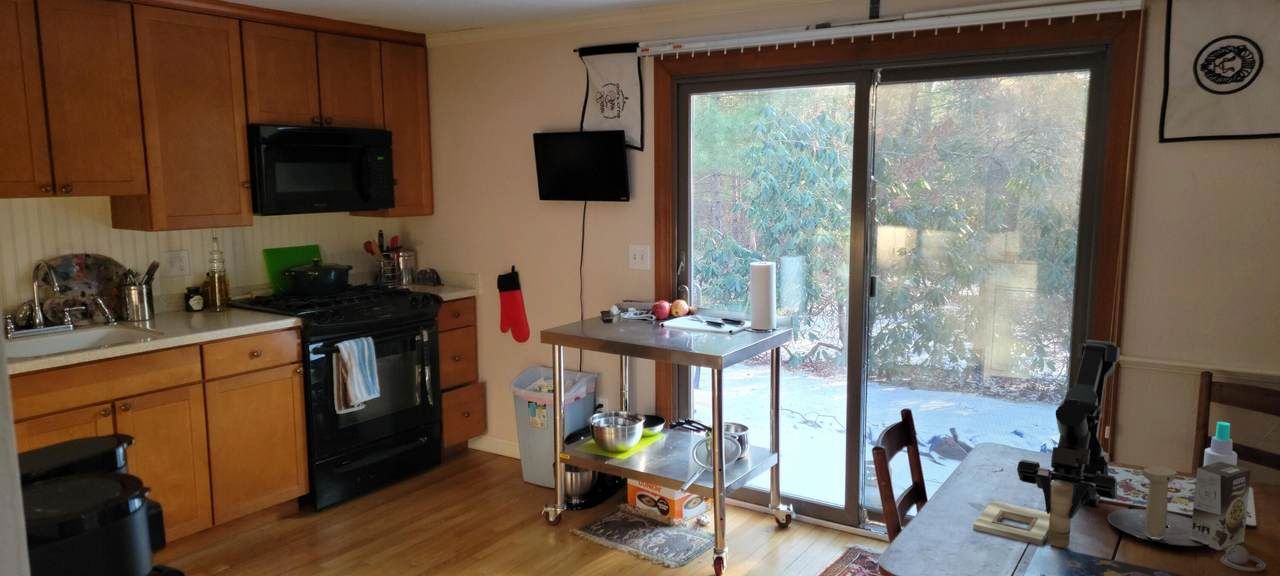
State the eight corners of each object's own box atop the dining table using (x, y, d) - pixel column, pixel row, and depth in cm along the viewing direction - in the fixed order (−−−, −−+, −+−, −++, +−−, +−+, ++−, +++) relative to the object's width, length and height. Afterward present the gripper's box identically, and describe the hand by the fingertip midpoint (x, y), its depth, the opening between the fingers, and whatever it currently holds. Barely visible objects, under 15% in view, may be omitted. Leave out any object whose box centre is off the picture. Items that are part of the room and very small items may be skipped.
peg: (1049, 537, 185) (1053, 478, 183) (1071, 541, 183) (1075, 483, 181) (1045, 544, 182) (1049, 485, 180) (1067, 549, 180) (1071, 489, 178)
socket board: (991, 505, 204) (992, 499, 204) (1056, 519, 196) (1057, 513, 196) (973, 529, 191) (973, 523, 191) (1041, 544, 183) (1042, 538, 183)
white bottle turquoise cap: (1218, 524, 192) (1228, 428, 189) (1192, 514, 198) (1201, 421, 195) (1237, 520, 195) (1246, 425, 191) (1210, 510, 200) (1219, 418, 197)
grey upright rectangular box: (1220, 551, 180) (1227, 476, 177) (1188, 539, 185) (1195, 467, 183) (1245, 542, 184) (1253, 469, 181) (1213, 530, 189) (1220, 459, 187)
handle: (1176, 541, 184) (1182, 474, 182) (1149, 544, 183) (1155, 476, 181) (1158, 532, 189) (1164, 466, 187) (1132, 534, 188) (1138, 468, 186)
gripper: (1021, 423, 187) (1006, 488, 180) (1119, 439, 177) (1107, 508, 169) (1027, 448, 195) (1013, 511, 188) (1121, 464, 184) (1110, 532, 177)
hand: (1059, 515), depth 180 cm, fingers closed on peg, 4 cm apart
